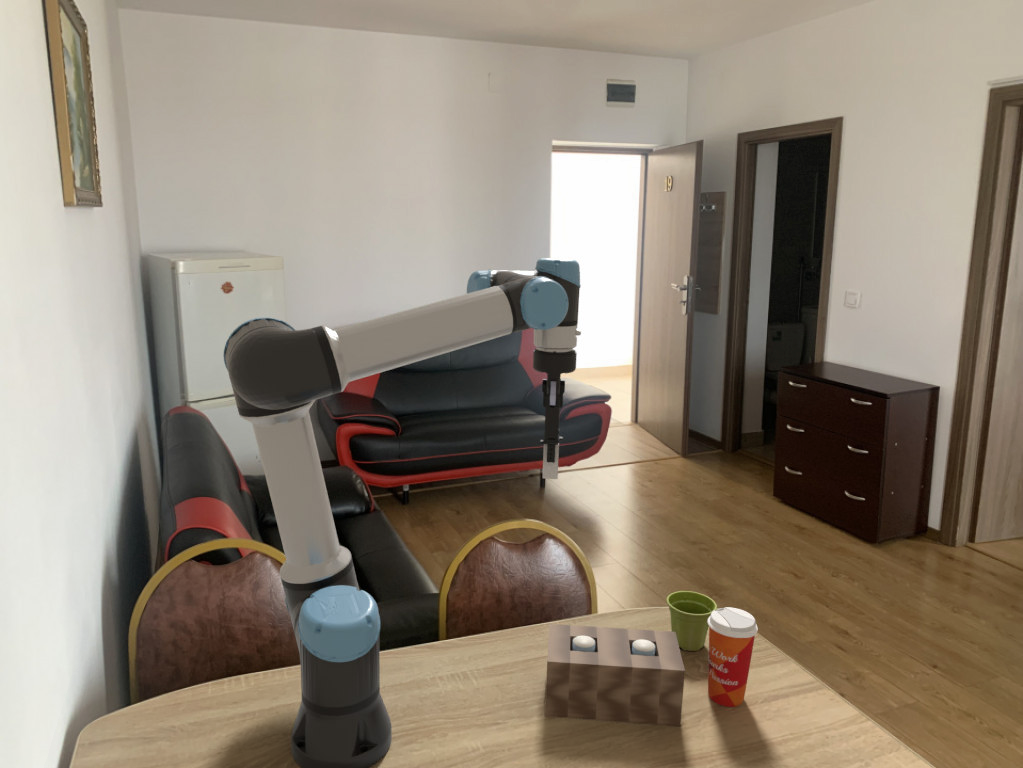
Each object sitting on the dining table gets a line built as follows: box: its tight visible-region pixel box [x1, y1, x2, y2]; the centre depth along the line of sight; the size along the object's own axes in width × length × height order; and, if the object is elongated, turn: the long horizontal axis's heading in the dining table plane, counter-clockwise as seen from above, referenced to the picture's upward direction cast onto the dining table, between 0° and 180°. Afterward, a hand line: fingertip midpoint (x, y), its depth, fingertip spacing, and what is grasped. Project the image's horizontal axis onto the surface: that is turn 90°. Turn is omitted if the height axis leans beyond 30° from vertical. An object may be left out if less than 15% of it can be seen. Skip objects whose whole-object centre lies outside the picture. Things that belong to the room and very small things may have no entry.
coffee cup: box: [707, 606, 759, 708], centre depth 132 cm, size 8×8×15 cm
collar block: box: [544, 623, 686, 727], centre depth 131 cm, size 22×12×10 cm, turn 86°
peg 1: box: [572, 636, 595, 652], centre depth 132 cm, size 4×4×10 cm
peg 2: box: [632, 639, 655, 656], centre depth 131 cm, size 4×4×10 cm
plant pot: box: [666, 590, 718, 652], centre depth 150 cm, size 9×9×9 cm
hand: (550, 477), depth 140 cm, fingers closed
